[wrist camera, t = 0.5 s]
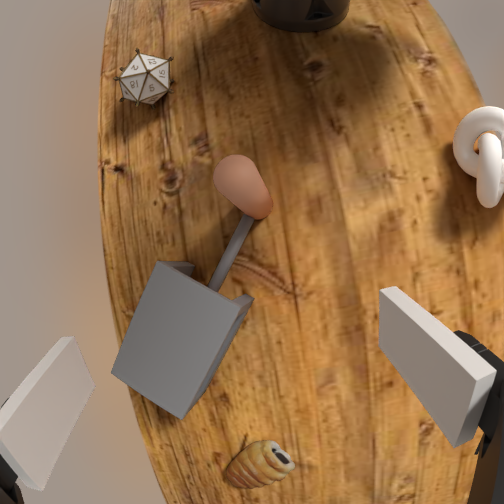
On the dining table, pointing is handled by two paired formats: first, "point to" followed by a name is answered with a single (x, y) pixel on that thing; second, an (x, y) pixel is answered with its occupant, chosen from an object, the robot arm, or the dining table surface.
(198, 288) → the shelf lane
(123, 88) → the game die
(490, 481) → the robot arm
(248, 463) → the pastry
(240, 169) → the block
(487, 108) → the white knot
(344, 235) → the dining table surface
